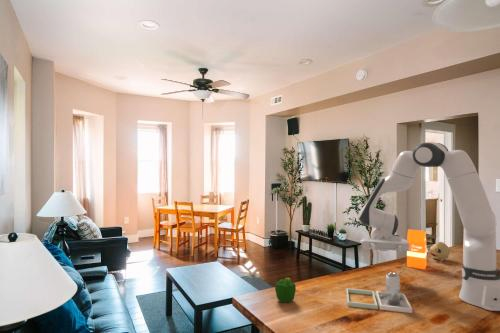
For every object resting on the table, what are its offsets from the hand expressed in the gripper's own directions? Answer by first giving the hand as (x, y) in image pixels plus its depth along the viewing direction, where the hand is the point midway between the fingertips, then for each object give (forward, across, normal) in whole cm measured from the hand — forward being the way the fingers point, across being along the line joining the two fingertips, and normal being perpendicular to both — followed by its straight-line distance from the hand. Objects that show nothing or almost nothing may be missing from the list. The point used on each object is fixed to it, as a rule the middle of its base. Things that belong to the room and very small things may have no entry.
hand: (387, 248), depth 136 cm
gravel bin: (+13, 0, +20) cm, 24 cm away
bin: (+13, -12, +20) cm, 27 cm away
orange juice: (-44, +22, +20) cm, 53 cm away
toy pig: (-59, +37, +20) cm, 72 cm away
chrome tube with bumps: (+13, 0, +18) cm, 22 cm away
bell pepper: (+18, -42, +20) cm, 50 cm away
